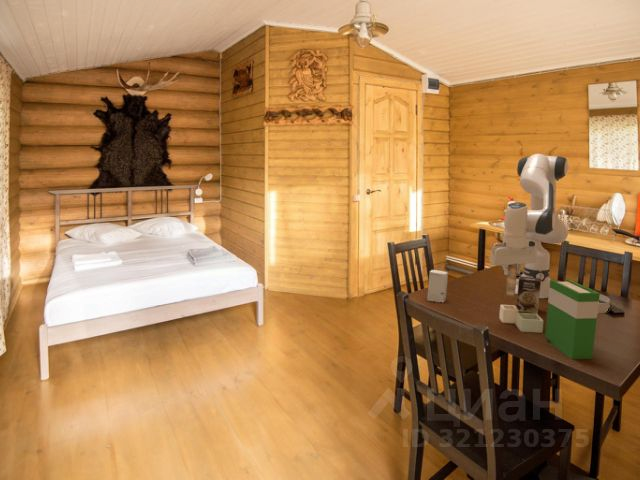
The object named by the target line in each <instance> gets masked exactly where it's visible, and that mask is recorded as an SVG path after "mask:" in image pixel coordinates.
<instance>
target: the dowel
mask: <svg viewBox="0 0 640 480" xmlns="http://www.w3.org/2000/svg"><path fill="white" fill-rule="evenodd" d="M517 267H518V265H517V264H516V263H515V264H513V265H508V267H507V269H508V271H510V275H506V276H507V277H506V286H505V287H506V290H505V291H506V292H505V295H506V296H508V297H514V296H516V294H515V288H516V285H517V283H516V279H517V275H518V274H517Z"/></svg>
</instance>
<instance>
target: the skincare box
mask: <svg viewBox="0 0 640 480" xmlns="http://www.w3.org/2000/svg"><path fill="white" fill-rule="evenodd" d="M448 276H449V271H443V270H437V269H431V270H430V271H429V275H428V286H427V298H426V300H427V301H428V302H434V301H435V303H440V302H442V303H441V304H443V303H444V302H446V299H447V290H448V289H447V288H448V278H449V277H448Z"/></svg>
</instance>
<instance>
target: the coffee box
mask: <svg viewBox="0 0 640 480" xmlns="http://www.w3.org/2000/svg"><path fill="white" fill-rule="evenodd" d="M518 279H519V285H518V284H517V285H518V294H516V296H517V297H516V298H517V299H516V305H515V306H516V308H517V309H518V312H519V313H531V314H538V313H539V305H540V298H539V295H540V286H541V279H540V278H531V277H523V276H521V275H520V276H519V277H518ZM538 315H539V314H538Z"/></svg>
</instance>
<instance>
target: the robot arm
mask: <svg viewBox="0 0 640 480" xmlns="http://www.w3.org/2000/svg"><path fill="white" fill-rule="evenodd" d="M568 171H569V163H568V159H567V158H566V157H565V156H558V155H557V156H553V155H545V154H543V153H542V154H541V153H534V154H532V155H531V156H525V157H521V158H520V159H519V160H518V162H517V164H516V172H517V176H519V185H520V187H521V188H522V190H523V191H525V192H526V193H528V194H530V202H529V207H530V209H528V205H527V204H526V203H523V202H517V201H516V202H515V201H514V202H511V203H509V204H507V206H506V209H505V213H504V219H503V220H504V222H503V225H504V232H503V235H502V236H503V237H502V238H503V239H502V242H496V243H494V244H493V245H492V246H491V249H490V256H489V263H490V265H492V266H495V267H496V266H501V268H502V269H503V271H504V272H503V274H504V275H505V276H507V275H510V271H508V265H513V264H515V263H516V264H517V275H520V274H521V270H522V269H523V272H522V274H521V275H520V276H523V277H531V278H540V279H541V286H540V295H539V299H548V298H549V288H550V280H552V279H551V277H550V275H551V270H550V259H551V255H550V252H549V251H548V250H547V249H546V248H544V247H543V246H542V243H546V244H562V243H563V242H565V241H566V239H567V238H568V235H569V230H568V227H567V225H566V224H565V223H564V222H562V221H561V219H560V217H559V215H558V214H557V209H556V198H557V197H556V196H557V182H558V181H559V180H562V179H563V178H564V177H566V176H567V173H568ZM518 285H519V278H516V288H515V295H518Z"/></svg>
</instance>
